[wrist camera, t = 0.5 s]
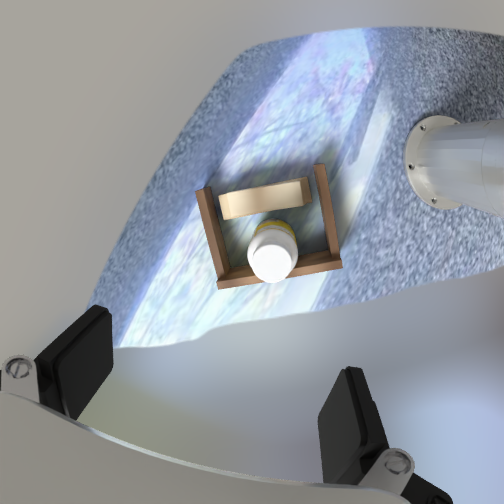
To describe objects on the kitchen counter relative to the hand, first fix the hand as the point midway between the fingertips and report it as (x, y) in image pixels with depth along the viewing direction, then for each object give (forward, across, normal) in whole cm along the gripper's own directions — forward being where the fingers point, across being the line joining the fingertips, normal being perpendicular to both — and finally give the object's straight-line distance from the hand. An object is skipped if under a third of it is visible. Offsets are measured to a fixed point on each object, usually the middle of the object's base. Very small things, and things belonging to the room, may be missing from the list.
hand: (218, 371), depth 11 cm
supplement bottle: (+29, -2, +2) cm, 29 cm away
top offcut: (+27, 0, -4) cm, 27 cm away
